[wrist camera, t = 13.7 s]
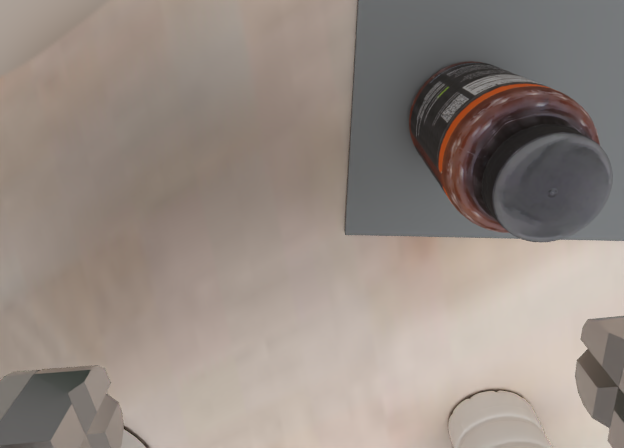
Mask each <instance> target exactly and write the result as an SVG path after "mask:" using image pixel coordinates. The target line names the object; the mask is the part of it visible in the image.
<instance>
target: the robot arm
mask: <svg viewBox="0 0 624 448" xmlns="http://www.w3.org/2000/svg"><path fill="white" fill-rule="evenodd" d="M581 341H582V342H583V343H584V344H585V346H586V347H587V348H588V349H587V350H586V351H585V352H584V353H583V354H582V356H581V357H580V358H579V359H578V360H577V364H576V372H575V379H576V384H577V389H578V393H579V396H580V398H581V400H582V403H583V405H584V406H585V408H586V409H587V411H588V412H589V414H590V415H591V417H592V418H593V419H595V420H597V421H598V422H600V423H602V424H603V425H605V426H607V427H608V428H609V435H608V442H609V443H610V445H611V446H612V448H624V316H616V317H606V318H596V319H588V320H587V321H586V323H585V324H584V326H583V328H582V334H581ZM110 384H111V381H110V379H109V376H108V374H107V372H106V369H105V368H103V367H101V366H98V365H95V366H80V367H66V368H52V369H42V370H30V371H17V372H12V373H10V374H8V375H6V376H4V377H3V379H2V380H1V381H0V448H146V447H145V446H144V445H143V444H142V443H141V442H140V441H139V440H138V439H137V438H136V437H134V436H133V435H132V434H130V433H129V432H128V431H126V430H125V429H124V423H123V415H122V411H121V408H120V405H119V402H117V401H116V400H115V399H113V398H112V397H110V396H109V395H108V394H106V393H107V391H108V389H109V387H110Z"/></svg>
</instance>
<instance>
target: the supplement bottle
mask: <svg viewBox="0 0 624 448" xmlns="http://www.w3.org/2000/svg"><path fill="white" fill-rule="evenodd" d="M409 129H410V135H411V138H412V141H413V144H414V146H415V148H416V150H417V152H418V154H419V155H420V156H421V158H422V159H423V161H424V162H425V164H426V166H427V167H428V168H429V170H430V171H431V173H432V175H433V176H434V177H435V179H436V180H437V182H438V183H439V185H440V186H441V188H442V190H443V191H444V193H445V194H446V195H447V197H448V198H449V200H450V201H451V203H452V204H453V205H454V207H455V208H456V209H457V210H458V211H459V212H460V213H461V214H462V215H463V216H464V217H465V218H467V219H468V220H469V221H471V222H472V223H474V224H476V225H478V226H480V227H482V228H485V229H487V230H491V231H496V232H502V233H510V234H512V235H514V236H516V237H518V238H520V239H523V240H527V241H532V242H550V241H556V240H560V239H563V238H566V237H569V236H571V235H573V234H575V233H577V232H578V231H580V230H581V229H583V228H584V227H586V226H587V225H589V223H590V222H591V221H592V220H594V219H595V217H596V216H597V215H598V214H599V213H600V212H601V210H602V209H603V207H604V206H605V204H606V202H607V200H608V197H609V195H610V191H611V188H612V183H613V173H612V167H611V164H610V160H609V158H608V156H607V154H606V153H605V151H604V150H603V149H602V147H601V146H600V143H599V138H598V133H597V129H596V128H595V126H594V123H593V121H592V119H591V118H590V116H589V114H588V113H587V112H586V111H585V110H584V108H583V107H582V106H580V105H579V104H578V103H577V102H576V101H575V100H573V99H572V98H570V97H569V96H567V95H565V94H563V93H561V92H559V91H557V90H554V89H552V88H550V87H547V86H545V85H542V84H540V83H537V82H534V81H532V80H529V79H527V78H524V77H522V76H519V75H516V74H514V73H511V72H509V71H506V70H504V69H501V68H499V67H496V66H494V65H491V64H487V63H482V62H473V61H471V62H461V63H457V64H453V65H450V66H447V67H445V68H443V69H441V70H439V71H438V72H437V73H436V74H434V75H433V76H432V77H431V78H430V79H429V80H427V81H426V82H425V84H424V85H423V86H422V87H421V88H420V90H419V92H418V93H417V95H416V97H415V99H414V101H413V104H412V106H411V110H410V117H409Z"/></svg>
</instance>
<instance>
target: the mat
mask: <svg viewBox="0 0 624 448" xmlns="http://www.w3.org/2000/svg"><path fill="white" fill-rule="evenodd" d="M471 61H473V62H482V63H487V64H491V65H494V66H496V67H499V68H501V69H504V70H506V71H509V72H511V73H514V74H516V75H519V76H522V77H524V78H527V79H529V80H532V81H534V82H537V83H540V84H542V85H545V86H547V87H550V88H552V89H554V90H557V91H559V92H561V93H563V94H565V95H567V96H569V97H570V98H572V99H573V100H575V101H576V102H577V103H578V104H579V105H580V106H582V107H583V108H584V110H585V111H586V112H587V113H588V114H589V116H590V118H591V119H592V121H593V123H594V126H595V128H596V129H597V133H598V138H599V143H600V146H601V147H602V149H603V150H604V151H605V153H606V154H607V156H608V158H609V160H610V164H611V167H612V173H613V183H612V188H611V191H610V195H609V197H608V200H607V202H606V204H605V206H604V207H603V209H602V210H601V212H600V213H599V214H598V215H597V216H596V217H595V219H594V220H592V221H591V222H590V223H589V225H587V226H586V227H584V228H583V229H581V230H580V231H578V232H577V233H575V234H573V235H571V236H569V237H566V238H563V239H561V240H606V241H624V0H358V10H357V28H356V46H355V63H354V81H353V98H352V116H351V133H350V151H349V168H348V186H347V203H346V221H345V235H379V236H425V237H470V238H516V239H520V238H518V237H516V236H514V235H512V234H510V233H502V232H496V231H491V230H487V229H485V228H482V227H480V226H478V225H476V224H474V223H472V222H471V221H469V220H468V219H467V218H465V217H464V216H463V215H462V214H461V213H460V212H459V211H458V210H457V209H456V208H455V207H454V205H453V204H452V203H451V201H450V200H449V198H448V197H447V195H446V194H445V193H444V191H443V190H442V188H441V186H440V185H439V183H438V182H437V180H436V179H435V177H434V176H433V175H432V173H431V171H430V170H429V168H428V167H427V166H426V164H425V162H424V161H423V159H422V158H421V156H420V155H419V154H418V152H417V150H416V148H415V146H414V144H413V141H412V138H411V135H410V129H409V117H410V110H411V106H412V104H413V101H414V99H415V97H416V95H417V93H418V92H419V90H420V88H421V87H422V86H423V85H424V84H425V82H426V81H427V80H429V79H430V78H431V77H432V76H433V75H434V74H436V73H437V72H438V71H439V70H441V69H443V68H445V67H447V66H450V65H453V64H457V63H461V62H471Z"/></svg>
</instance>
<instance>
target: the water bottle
mask: <svg viewBox="0 0 624 448" xmlns="http://www.w3.org/2000/svg"><path fill="white" fill-rule="evenodd" d="M448 430H449V435H450V439H451V442H452V445H453V448H553V447H552V445H551V443H550V441H549V439H548V438H547V436H546V435H545V432H544V429H543V427H542V425H541V423H540V421H539V419H538V417H537V415H536V414H535V412H534V410H533V408H532V407H531V405H530V404H529V403H528V402H527V401H526V400H525V399H524V398H521V397H520V396H519V395H517V394H515V393H512V392H508V391H498V392H495V391H485V392H481V393H478V394H475V395H473V396H472V397H471V399H465V400H464V401H462V402H461V403H460V404H459V405H458V406H457V407H456V408H455V409H454V411H453V415H451V416H450V418H449V423H448Z"/></svg>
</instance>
